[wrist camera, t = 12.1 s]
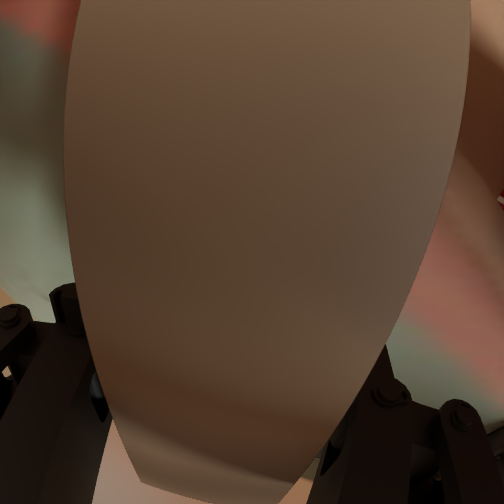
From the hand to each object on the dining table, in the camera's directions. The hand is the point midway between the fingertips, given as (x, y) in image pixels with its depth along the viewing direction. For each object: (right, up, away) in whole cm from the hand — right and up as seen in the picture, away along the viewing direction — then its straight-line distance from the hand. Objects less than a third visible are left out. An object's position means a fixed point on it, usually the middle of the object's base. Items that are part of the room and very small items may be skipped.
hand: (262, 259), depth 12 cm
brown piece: (+1, +4, -1) cm, 4 cm away
